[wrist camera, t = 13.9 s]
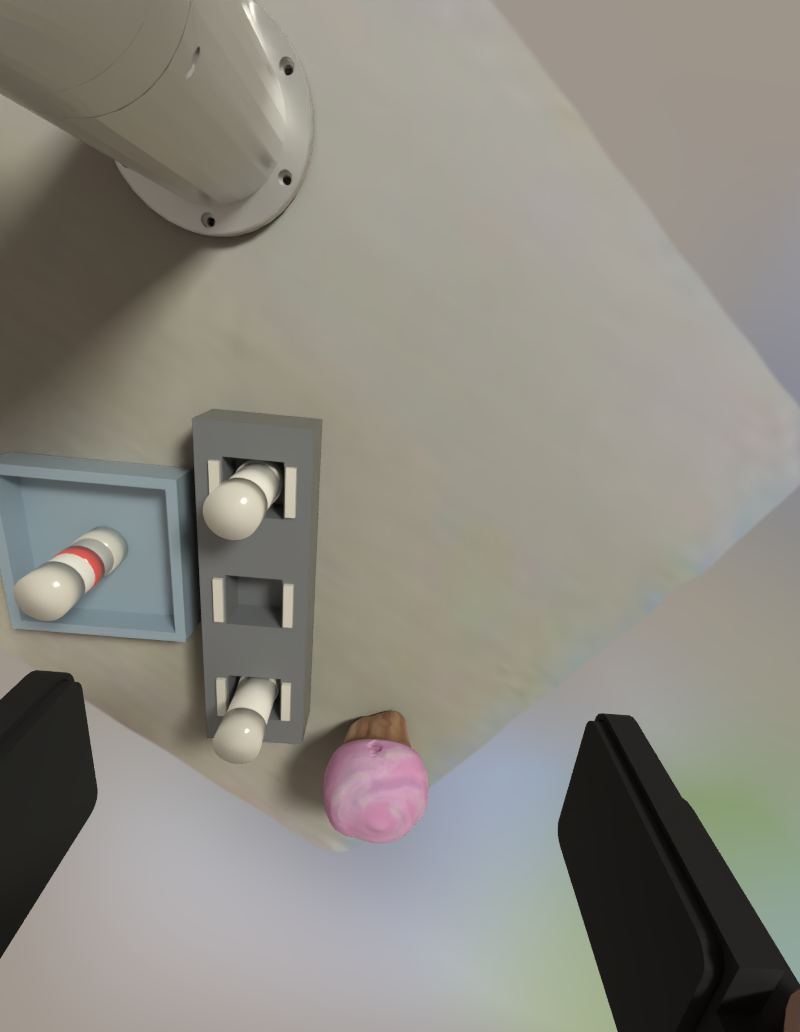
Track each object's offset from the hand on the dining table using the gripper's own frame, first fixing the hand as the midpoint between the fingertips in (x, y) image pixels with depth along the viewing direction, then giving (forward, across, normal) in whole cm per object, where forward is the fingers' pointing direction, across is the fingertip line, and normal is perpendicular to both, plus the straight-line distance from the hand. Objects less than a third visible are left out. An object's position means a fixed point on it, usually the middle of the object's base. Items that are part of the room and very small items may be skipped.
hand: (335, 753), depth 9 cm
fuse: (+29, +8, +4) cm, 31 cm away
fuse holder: (+30, +8, +13) cm, 34 cm away
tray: (+30, +21, +11) cm, 38 cm away
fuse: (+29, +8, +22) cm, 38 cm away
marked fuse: (+30, +21, +11) cm, 38 cm away
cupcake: (+31, -2, +28) cm, 41 cm away
